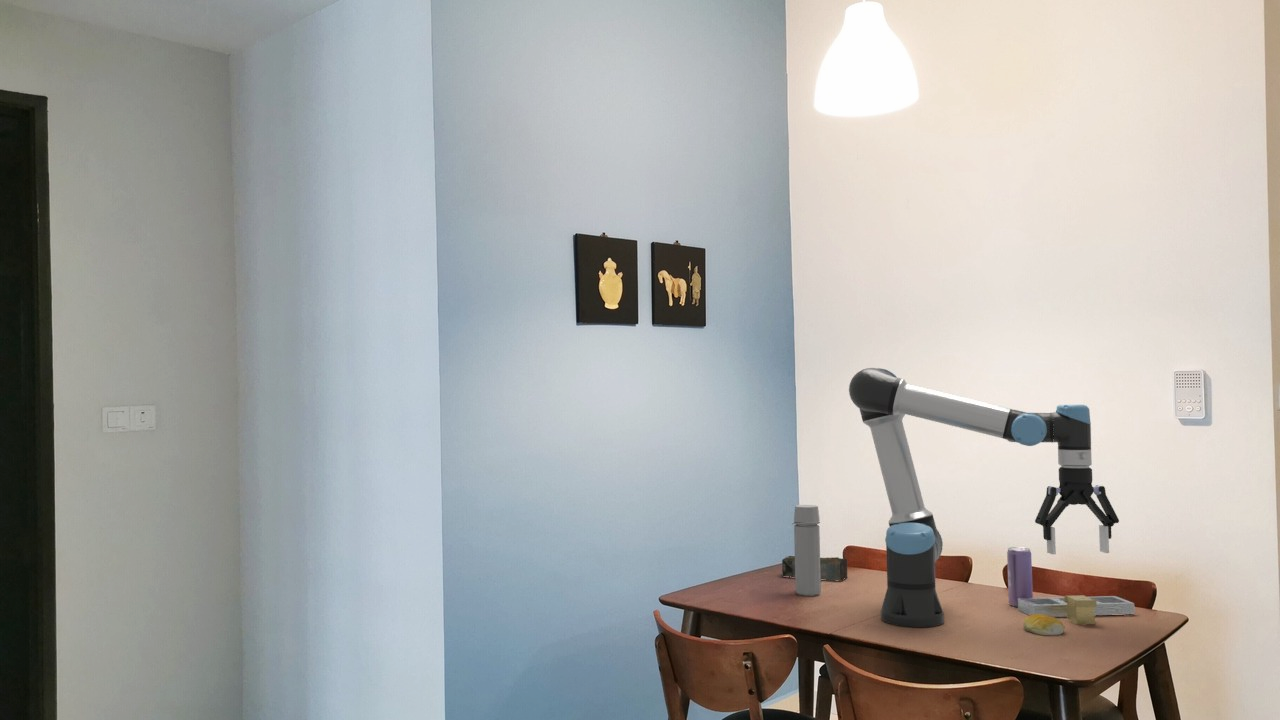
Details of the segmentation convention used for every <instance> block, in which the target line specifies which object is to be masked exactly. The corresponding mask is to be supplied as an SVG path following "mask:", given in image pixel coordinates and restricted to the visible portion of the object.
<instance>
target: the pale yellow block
mask: <svg viewBox="0 0 1280 720" xmlns="http://www.w3.org/2000/svg"><path fill="white" fill-rule="evenodd" d="M1063 597H1064V601H1065V603H1067V617H1066V619H1067V620H1066V621H1068V622H1069V621H1070V622H1069V623H1071V624H1074V625H1076V626H1085V625H1084V624H1095V625H1096V619H1095V617H1096V616H1095V612H1094V607H1097V603H1096V600H1093V599H1091V598H1088V597H1089V596H1086V595H1085V594H1083V595H1082V594H1081V595H1080V594H1079V595H1078V594H1077V595H1064V596H1063Z"/></svg>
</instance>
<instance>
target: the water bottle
mask: <svg viewBox="0 0 1280 720" xmlns="http://www.w3.org/2000/svg"><path fill="white" fill-rule="evenodd" d="M793 513H794V517H793V522H792V523H791V525H794V526H793V532H794V535H793V536H794V556H795V578H794V579H795V581H794V583H795V584H794V585H795V586H794V589H795V590H794V591H795V593H796V594H797V595H799V596H802V595H803V597H816V596H818V595H820V594H821V592H822V589H821V588H822V586H821V584H822V583H821V582H822V580H821V575H820V558H821V546H820V545H821V544H820V543H821V541H820V540H821V536H820V535H821V534H820V525H819V524H820V523H821V520H820V513H819V506H818V505H816V504H815V505H814V504H797V505H794V512H793ZM815 595H816V596H815Z"/></svg>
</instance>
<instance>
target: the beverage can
mask: <svg viewBox="0 0 1280 720" xmlns="http://www.w3.org/2000/svg"><path fill="white" fill-rule="evenodd" d="M1006 555H1007V556H1006V559H1007V561H1006V563H1007V589H1008V590H1007V591H1008V594H1007V595H1008V603H1009V605H1010V606H1011V605H1012V607H1014V606H1015V607H1016V608H1018V598H1034V597H1033V595H1034V594H1033V593H1034V591H1033V566H1032V552H1031V549H1030V548H1029V547H1022V546H1013V547H1011V546H1010V547H1007V552H1006ZM1015 607H1014V608H1015Z"/></svg>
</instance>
